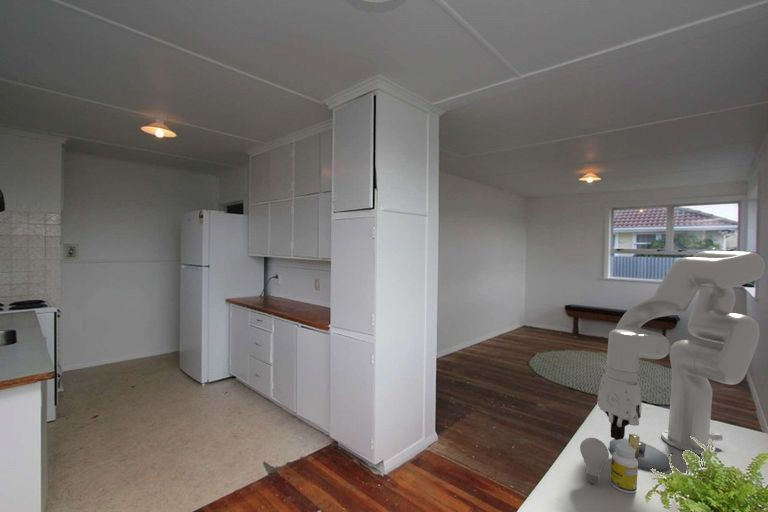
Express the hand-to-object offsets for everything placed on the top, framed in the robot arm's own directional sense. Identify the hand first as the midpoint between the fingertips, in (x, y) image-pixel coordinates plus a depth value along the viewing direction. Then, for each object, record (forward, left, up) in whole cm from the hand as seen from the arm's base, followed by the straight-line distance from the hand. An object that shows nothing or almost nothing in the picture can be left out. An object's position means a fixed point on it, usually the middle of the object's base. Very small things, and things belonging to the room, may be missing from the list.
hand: (617, 437), depth 103 cm
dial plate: (-6, +1, -5) cm, 8 cm away
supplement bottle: (+9, +14, -5) cm, 17 cm away
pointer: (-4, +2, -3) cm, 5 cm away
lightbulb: (+16, +12, -5) cm, 21 cm away
